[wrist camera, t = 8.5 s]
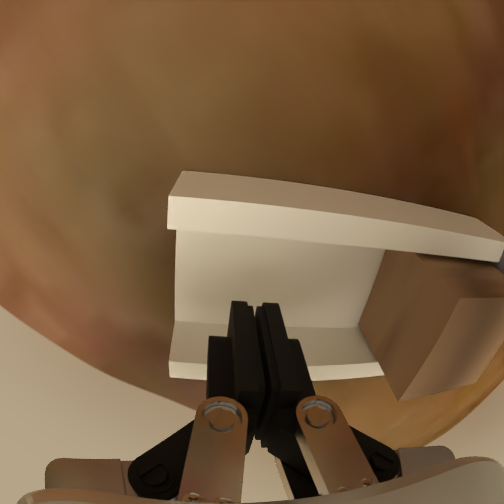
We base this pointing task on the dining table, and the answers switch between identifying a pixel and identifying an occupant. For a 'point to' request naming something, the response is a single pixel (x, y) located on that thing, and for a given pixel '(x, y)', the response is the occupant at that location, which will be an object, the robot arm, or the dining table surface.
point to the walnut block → (433, 321)
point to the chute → (297, 262)
